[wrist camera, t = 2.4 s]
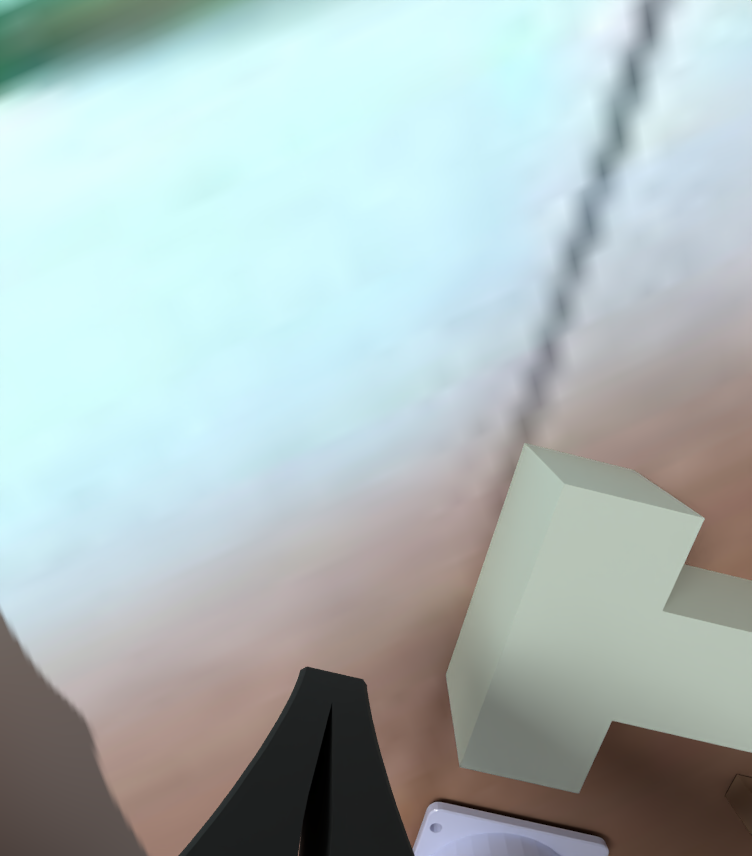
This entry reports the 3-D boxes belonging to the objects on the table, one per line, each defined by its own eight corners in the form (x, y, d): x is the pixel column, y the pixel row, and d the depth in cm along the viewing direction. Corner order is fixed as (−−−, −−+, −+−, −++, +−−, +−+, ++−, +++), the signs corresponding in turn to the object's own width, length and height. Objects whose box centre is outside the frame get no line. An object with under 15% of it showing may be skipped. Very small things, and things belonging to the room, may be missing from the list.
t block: (728, 739, 20) (811, 845, 16) (445, 674, 19) (459, 766, 16) (845, 522, 17) (977, 585, 13) (524, 442, 17) (564, 483, 13)
